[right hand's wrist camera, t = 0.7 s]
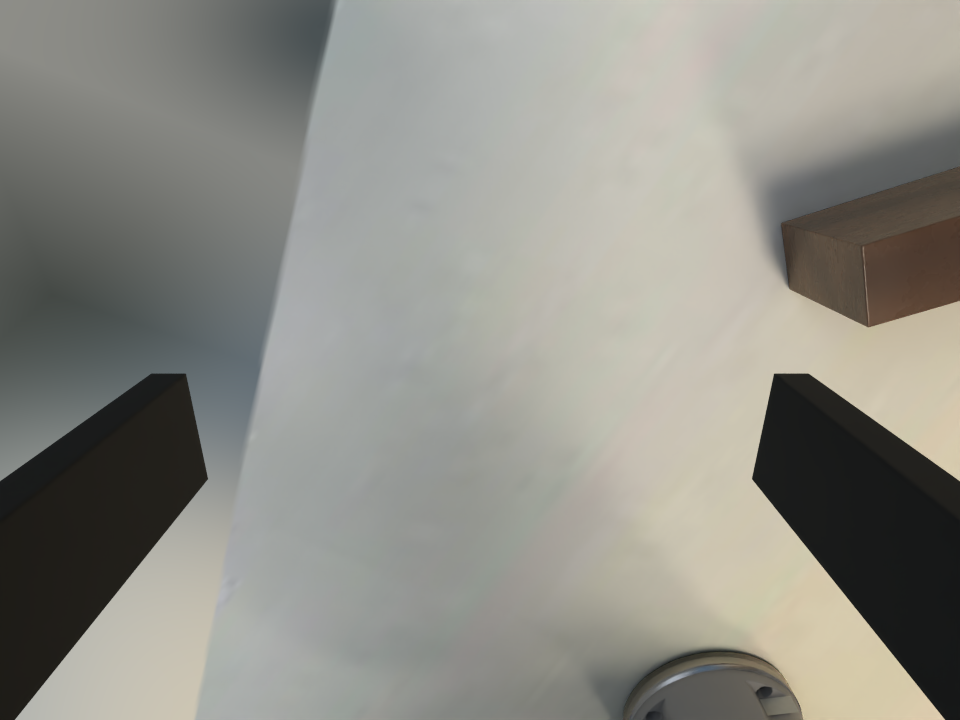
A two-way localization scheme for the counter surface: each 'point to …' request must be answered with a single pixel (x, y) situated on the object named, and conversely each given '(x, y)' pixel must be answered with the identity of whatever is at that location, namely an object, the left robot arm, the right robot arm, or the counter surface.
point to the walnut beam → (881, 251)
